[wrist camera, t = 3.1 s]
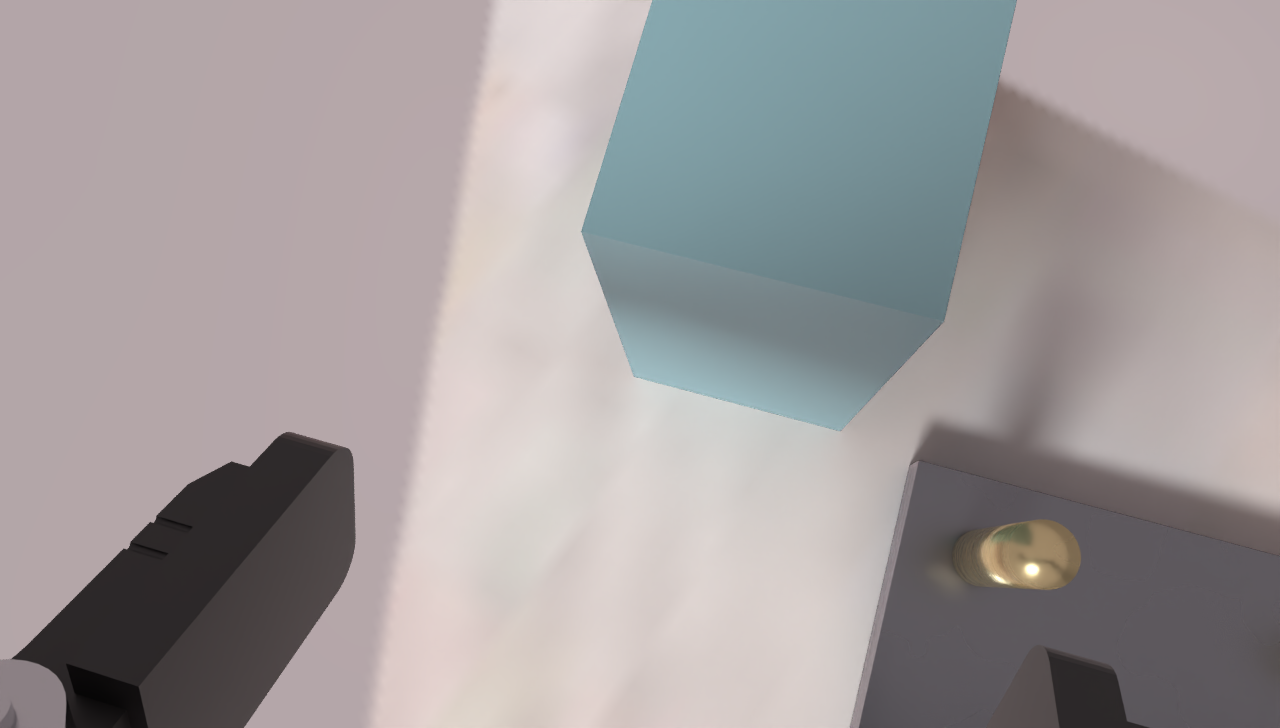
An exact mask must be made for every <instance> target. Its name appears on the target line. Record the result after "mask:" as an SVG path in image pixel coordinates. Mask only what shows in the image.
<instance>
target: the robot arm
mask: <svg viewBox="0 0 1280 728" xmlns="http://www.w3.org/2000/svg"><path fill="white" fill-rule="evenodd" d="M353 467H354V466H353V456H352V453H351V451H350V450H349V449H348V448H345V447H342V446H338V445H335V444H331V443H327V442H323V441H320V440H317V439H313V438H310V437H306V436H302V435H299V434H295V433H292V432H286V433H284V434H282V435H281V436H279V437H278V438H277V439H275V440H274V441H273V443H272V444H271V445H270V446H269V447H268V448H267V449H266V450H265V451H264V452H263V453H262V454H261V455H260V456H259V457H258V459H257V460H256V461H255V462H254V463H253V464H252V465H251V466H250V467H248V466H245V465H241V464H238V463H234V462H230V463H228V464H226V465H224V466H222V467H220V468H218V469H217V470H215V471H213V472H211V473H209V474H207V475H205V476H203V477H201V478H199V479H197V480H195V481H194V482H191V483H190V484H188V485H187V486H186V487H185V488H184V489H183V490H182V491H181V492H180V493H179V494H178V495H177V496H176V497H175V498H174V499H173V500H172V501H171V502H170V503H169V504H168V505H167V506H166V507H165V508H164V509H163V510H162V511H161V512H160V513H159V514H158V515H157V517H156V520H155V522H154V523H151V522H150V523H149V524H148V525H147V526H146V527H145V528H144V529H143V530H142V531H141V532H140V533H139V534H138V535H137V536H136V537H135V538H134V539H133V540H132V541H131V543H130V546H129V548H128V549H127V550H126V549H123V550H122V551H121V552H120V553H119V554H118V555H117V556H116V557H115V558H114V559H113V560H112V561H111V562H110V563H109V564H108V565H107V566H106V567H105V568H104V569H103V570H102V571H101V572H100V573H99V574H98V575H97V576H96V577H95V578H94V579H93V580H92V581H91V582H90V583H89V584H88V585H87V586H86V587H85V588H84V589H83V590H82V591H81V592H80V593H79V594H78V595H77V596H76V597H75V598H74V599H73V600H72V601H71V602H70V603H69V604H68V605H67V606H66V607H65V608H64V609H63V610H62V611H61V612H60V613H59V614H58V615H57V616H56V617H55V618H54V619H53V620H52V621H51V622H50V623H49V624H48V625H47V626H46V627H45V628H44V629H43V630H42V631H41V632H40V633H39V634H38V635H37V636H36V637H35V638H34V639H33V640H32V641H31V642H30V643H29V644H28V645H27V646H26V647H25V648H24V649H22V650H21V651H20V652H19V653H18V654H17V655H16V656H14V657H13V658H12V659H10V660H0V728H244V726H245V725H246V724H247V722H248V721H249V719H250V718H251V716H252V715H253V714H254V712H255V711H256V709H257V708H258V706H259V705H260V704H261V702H262V701H263V699H264V698H265V696H266V695H267V693H268V692H269V690H270V689H271V688H272V686H273V685H274V683H275V682H276V680H277V679H278V677H279V676H280V674H281V673H282V672H283V670H284V669H285V667H286V666H287V664H288V663H289V661H290V660H291V659H292V657H293V656H294V654H295V653H296V651H297V650H298V649H299V647H300V645H301V644H302V643H303V641H304V640H305V638H306V637H307V635H308V634H309V632H310V631H311V630H312V628H313V627H314V625H315V624H316V622H317V621H318V619H319V618H320V616H321V615H322V614H323V612H324V611H325V609H326V608H327V607H328V605H329V604H330V602H331V601H332V599H333V598H334V596H335V595H336V593H337V592H338V590H339V589H340V587H341V585H342V583H343V582H344V579H345V577H346V575H347V573H348V570H349V567H350V564H351V561H352V558H353V554H354V548H355V503H354V468H353ZM986 728H1149V727H1146V726H1142V725H1139V724H1135V723H1132V722H1128V721H1127V718H1126V714H1125V709H1124V705H1123V700H1122V696H1121V691H1120V687H1119V682H1118V679H1117V675H1116V673H1115V671H1114V669H1113V668H1112V667H1111V666H1110V665H1109V664H1106V663H1102V662H1099V661H1095V660H1092V659H1088V658H1085V657H1081V656H1077V655H1074V654H1070V653H1067V652H1063V651H1060V650H1056V649H1053V648H1049V647H1045V646H1042V645H1036V646H1035V647H1033V648H1032V649H1031V650H1030V651H1029V653H1028V654H1027V656H1026V658H1025V659H1024V661H1023V663H1022V665H1021V666H1020V668H1019V670H1018V672H1017V673H1016V675H1015V677H1014V679H1013V681H1012V682H1011V684H1010V686H1009V688H1008V689H1007V691H1006V693H1005V695H1004V696H1003V698H1002V700H1001V702H1000V703H999V705H998V707H997V709H996V710H995V712H994V714H993V716H992V717H991V719H990V721H989V723H988V725H987V727H986Z"/></svg>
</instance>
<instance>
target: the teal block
mask: <svg viewBox="0 0 1280 728" xmlns="http://www.w3.org/2000/svg"><path fill="white" fill-rule="evenodd" d="M1016 1H1017V0H652V4H651V7H650V10H649V13H648V17H647V20H646V23H645V26H644V30H643V33H642V36H641V39H640V42H639V46H638V49H637V52H636V55H635V59H634V62H633V65H632V68H631V72H630V75H629V78H628V81H627V85H626V88H625V91H624V94H623V98H622V101H621V104H620V107H619V111H618V114H617V117H616V120H615V124H614V127H613V130H612V133H611V137H610V140H609V143H608V146H607V150H606V153H605V156H604V159H603V163H602V166H601V169H600V172H599V176H598V179H597V182H596V185H595V189H594V192H593V195H592V198H591V202H590V205H589V208H588V211H587V214H586V218H585V221H584V224H583V227H582V231H581V232H582V235H583V238H584V241H585V243H586V246H587V249H588V252H589V254H590V257H591V260H592V263H593V265H594V268H595V271H596V274H597V276H598V279H599V282H600V285H601V287H602V290H603V293H604V295H605V298H606V301H607V304H608V306H609V309H610V312H611V315H612V317H613V320H614V323H615V326H616V328H617V331H618V334H619V337H620V339H621V342H622V345H623V348H624V350H625V353H626V356H627V359H628V361H629V364H630V367H631V370H632V372H633V375H634V377H637V378H641V379H645V380H649V381H652V382H656V383H660V384H664V385H667V386H671V387H675V388H679V389H683V390H686V391H690V392H694V393H698V394H701V395H705V396H709V397H713V398H717V399H720V400H724V401H728V402H732V403H736V404H739V405H743V406H747V407H751V408H754V409H758V410H762V411H766V412H770V413H773V414H777V415H781V416H785V417H788V418H792V419H796V420H800V421H804V422H807V423H811V424H815V425H819V426H822V427H826V428H830V429H834V430H838V431H841V430H842V429H843V428H844V427H845V426H846V425H847V423H848V422H849V421H850V420H851V419H852V418H853V417H854V416H855V415H856V414H857V413H858V412H859V411H860V410H861V409H862V408H863V407H864V405H865V404H866V403H867V402H868V401H869V400H870V399H871V398H872V397H873V396H874V395H875V394H876V393H877V392H878V391H879V390H880V389H881V387H882V386H883V385H884V384H885V383H886V382H887V381H888V380H889V379H890V378H891V377H892V376H893V375H894V374H895V373H896V372H897V371H898V369H899V368H900V367H901V366H902V365H903V364H904V363H905V362H906V361H907V360H908V359H909V358H910V357H911V356H912V355H913V354H914V353H915V351H916V350H917V349H918V348H919V347H920V346H921V345H922V344H923V343H924V342H925V341H926V340H927V339H928V338H929V337H930V336H931V335H932V333H933V332H934V331H935V330H936V329H937V328H938V327H939V326H940V325H941V324H942V323H943V322H944V319H945V315H946V310H947V306H948V301H949V297H950V293H951V288H952V284H953V279H954V275H955V271H956V266H957V262H958V257H959V253H960V249H961V244H962V240H963V235H964V231H965V227H966V222H967V218H968V213H969V209H970V204H971V200H972V196H973V191H974V187H975V182H976V178H977V174H978V169H979V165H980V160H981V156H982V152H983V147H984V143H985V138H986V134H987V130H988V125H989V121H990V116H991V112H992V108H993V103H994V99H995V94H996V90H997V85H998V81H999V77H1000V72H1001V68H1002V63H1003V59H1004V55H1005V50H1006V46H1007V41H1008V37H1009V33H1010V28H1011V23H1012V19H1013V14H1014V11H1015V6H1016Z"/></svg>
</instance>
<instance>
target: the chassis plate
mask: <svg viewBox="0 0 1280 728" xmlns="http://www.w3.org/2000/svg"><path fill="white" fill-rule="evenodd" d="M1036 645H1042V646H1045V647H1049V648H1053V649H1056V650H1060V651H1063V652H1067V653H1070V654H1074V655H1077V656H1081V657H1085V658H1088V659H1092V660H1095V661H1099V662H1102V663H1106V664H1109V665H1110V666H1111V667H1112V668H1113V669H1114V671H1115V673H1116V675H1117V679H1118V682H1119V687H1120V691H1121V696H1122V700H1123V705H1124V709H1125V714H1126V718H1127V721H1128V722H1132V723H1135V724H1139V725H1142V726H1146V727H1149V728H1280V556H1277V555H1274V554H1270V553H1266V552H1262V551H1258V550H1255V549H1251V548H1247V547H1243V546H1240V545H1236V544H1232V543H1228V542H1225V541H1221V540H1217V539H1213V538H1209V537H1206V536H1202V535H1198V534H1194V533H1191V532H1187V531H1183V530H1179V529H1176V528H1172V527H1168V526H1164V525H1161V524H1157V523H1153V522H1149V521H1145V520H1142V519H1138V518H1134V517H1130V516H1127V515H1123V514H1119V513H1115V512H1112V511H1108V510H1104V509H1100V508H1096V507H1093V506H1089V505H1085V504H1081V503H1078V502H1074V501H1070V500H1066V499H1063V498H1059V497H1055V496H1051V495H1048V494H1044V493H1040V492H1036V491H1032V490H1029V489H1025V488H1021V487H1017V486H1014V485H1010V484H1006V483H1002V482H999V481H995V480H991V479H987V478H983V477H980V476H976V475H972V474H968V473H965V472H961V471H957V470H953V469H950V468H946V467H942V466H938V465H935V464H931V463H927V462H923V461H917V462H915V463H913V464H911V465H910V466H909V470H908V474H907V479H906V483H905V488H904V492H903V496H902V501H901V505H900V510H899V514H898V518H897V523H896V527H895V532H894V536H893V540H892V545H891V549H890V554H889V558H888V562H887V567H886V571H885V576H884V580H883V584H882V589H881V593H880V598H879V602H878V606H877V611H876V615H875V620H874V624H873V628H872V633H871V637H870V642H869V646H868V650H867V655H866V659H865V664H864V668H863V672H862V677H861V681H860V686H859V690H858V694H857V699H856V703H855V708H854V712H853V717H852V721H851V725H850V728H986V727H987V725H988V723H989V721H990V719H991V717H992V716H993V714H994V712H995V710H996V709H997V707H998V705H999V703H1000V702H1001V700H1002V698H1003V696H1004V695H1005V693H1006V691H1007V689H1008V688H1009V686H1010V684H1011V682H1012V681H1013V679H1014V677H1015V675H1016V673H1017V672H1018V670H1019V668H1020V666H1021V665H1022V663H1023V661H1024V659H1025V658H1026V656H1027V654H1028V653H1029V651H1030V650H1031V649H1032V648H1033V647H1035V646H1036Z"/></svg>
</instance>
